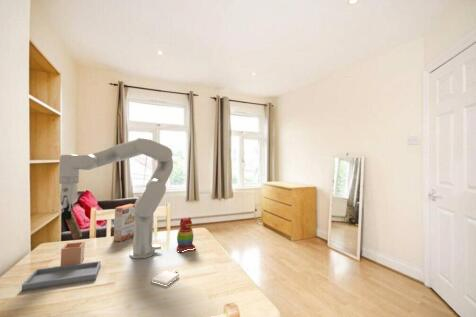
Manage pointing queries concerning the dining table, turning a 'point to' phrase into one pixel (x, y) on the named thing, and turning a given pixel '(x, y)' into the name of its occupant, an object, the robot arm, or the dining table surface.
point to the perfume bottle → (165, 277)
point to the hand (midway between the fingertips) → (67, 218)
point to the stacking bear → (185, 235)
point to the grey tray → (62, 275)
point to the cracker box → (124, 222)
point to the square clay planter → (72, 253)
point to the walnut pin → (73, 226)
